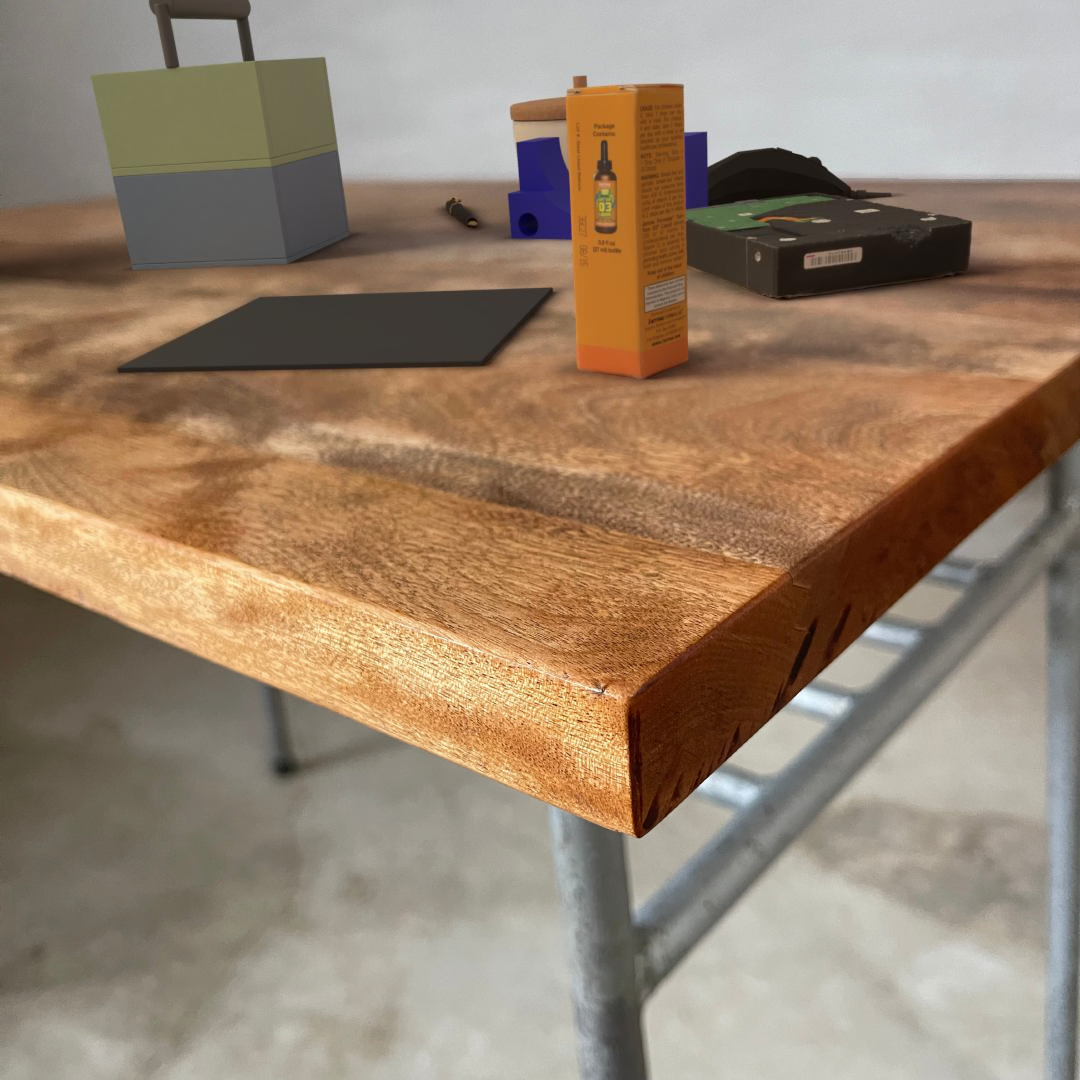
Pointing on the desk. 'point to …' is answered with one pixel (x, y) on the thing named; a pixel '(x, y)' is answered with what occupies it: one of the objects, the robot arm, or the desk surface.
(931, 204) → the desk surface
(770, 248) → the disk drive
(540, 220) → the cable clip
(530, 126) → the trinket box
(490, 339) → the mat
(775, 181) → the gaming mouse
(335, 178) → the box
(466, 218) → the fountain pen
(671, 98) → the supplement box
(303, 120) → the top basket
